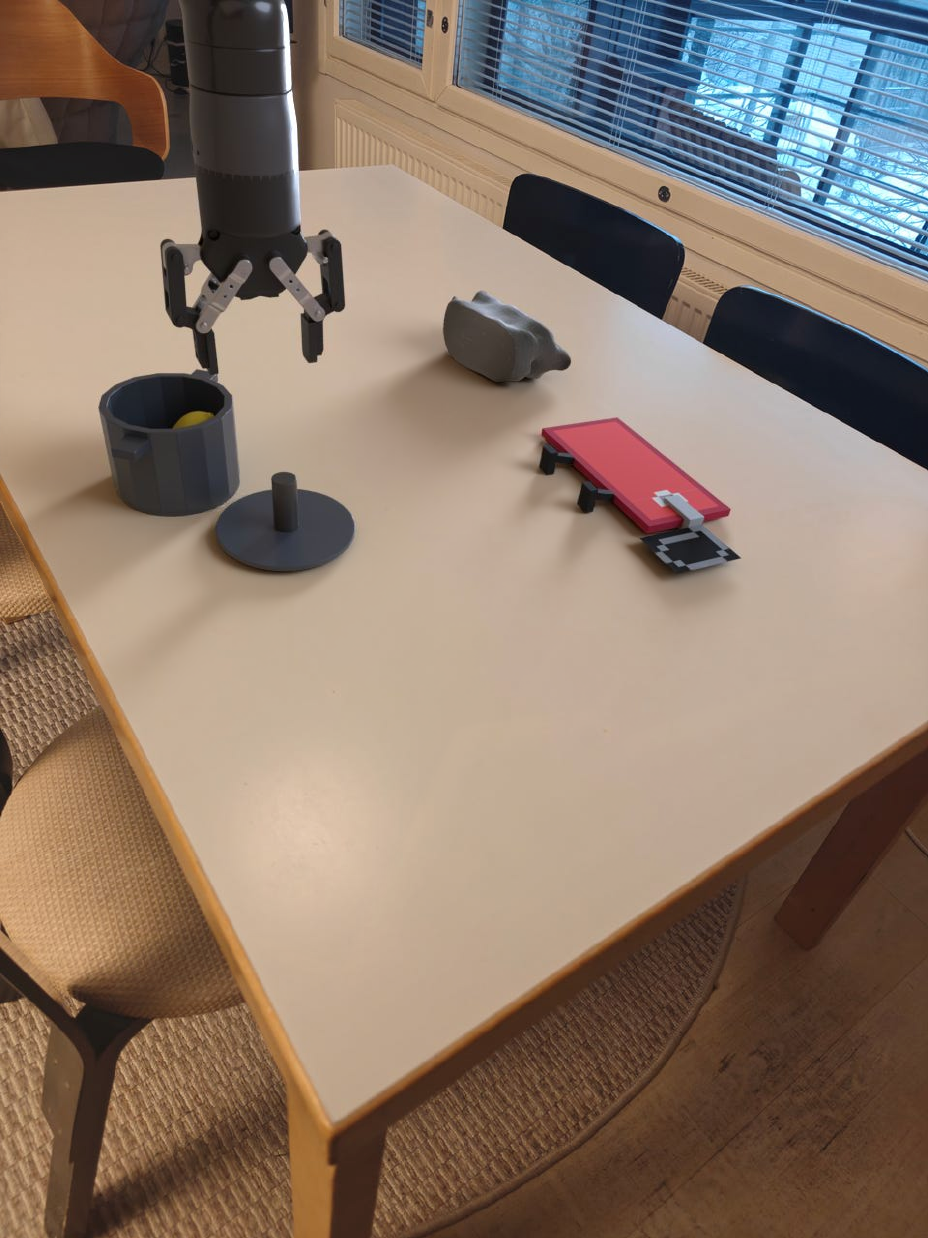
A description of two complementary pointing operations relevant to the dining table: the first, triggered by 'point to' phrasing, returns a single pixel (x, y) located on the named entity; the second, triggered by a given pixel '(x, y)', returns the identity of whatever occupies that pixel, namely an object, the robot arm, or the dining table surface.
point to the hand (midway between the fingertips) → (262, 364)
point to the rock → (500, 340)
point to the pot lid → (285, 527)
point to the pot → (171, 443)
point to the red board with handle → (641, 489)
